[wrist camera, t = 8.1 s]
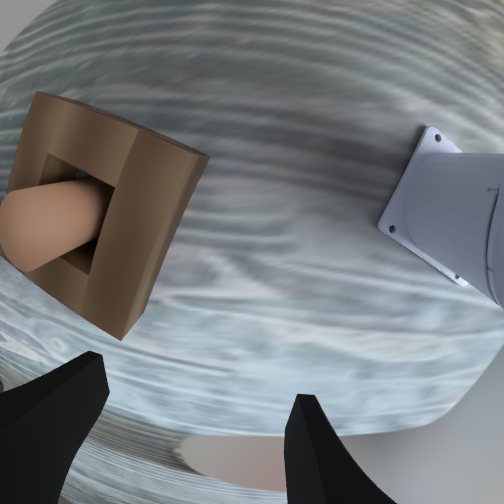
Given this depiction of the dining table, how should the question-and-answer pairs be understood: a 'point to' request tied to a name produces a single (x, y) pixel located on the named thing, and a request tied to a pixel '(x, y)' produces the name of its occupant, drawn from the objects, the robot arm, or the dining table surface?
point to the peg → (52, 220)
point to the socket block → (119, 211)
